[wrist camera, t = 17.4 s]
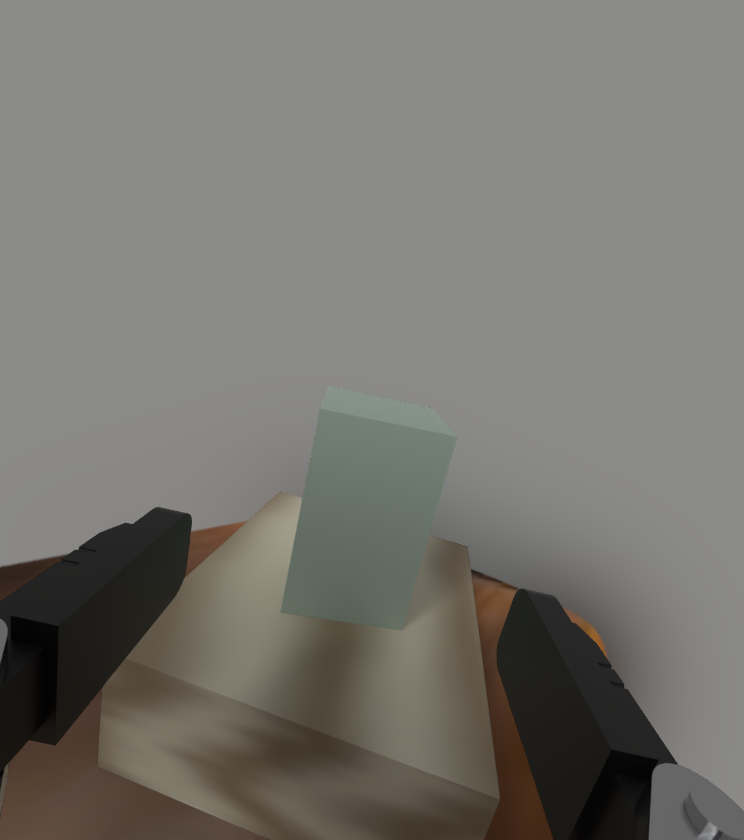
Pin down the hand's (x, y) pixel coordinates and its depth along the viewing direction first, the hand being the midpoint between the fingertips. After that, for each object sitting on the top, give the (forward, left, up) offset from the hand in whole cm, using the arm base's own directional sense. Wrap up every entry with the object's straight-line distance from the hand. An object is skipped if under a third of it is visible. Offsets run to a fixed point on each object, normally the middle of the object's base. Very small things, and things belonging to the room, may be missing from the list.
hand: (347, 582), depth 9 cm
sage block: (0, +9, -7) cm, 12 cm away
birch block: (0, +9, -13) cm, 16 cm away
